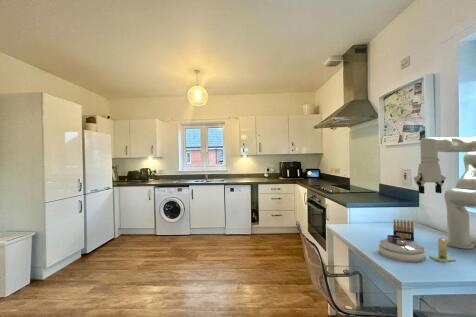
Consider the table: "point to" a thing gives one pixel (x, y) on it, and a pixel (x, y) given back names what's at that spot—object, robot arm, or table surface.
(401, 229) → the ammunition clip
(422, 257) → the chuck housing
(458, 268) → the table surface
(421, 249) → the grey round shallow disc
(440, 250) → the brass rounded cylinder
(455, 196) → the robot arm
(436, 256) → the mat
